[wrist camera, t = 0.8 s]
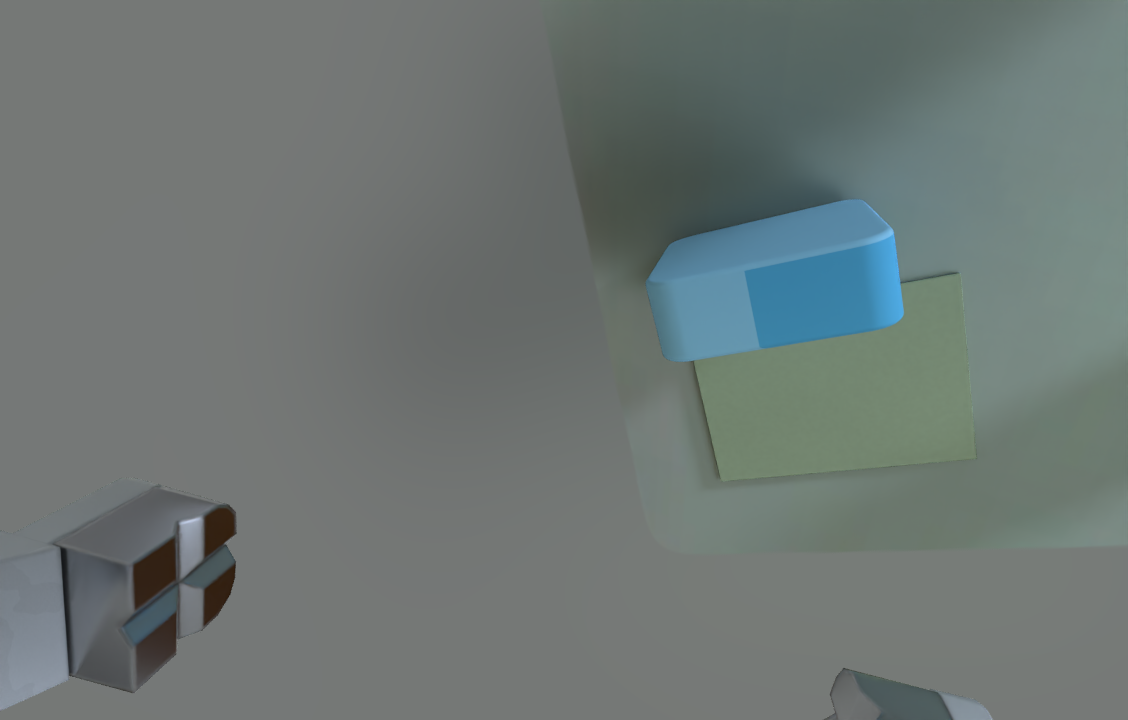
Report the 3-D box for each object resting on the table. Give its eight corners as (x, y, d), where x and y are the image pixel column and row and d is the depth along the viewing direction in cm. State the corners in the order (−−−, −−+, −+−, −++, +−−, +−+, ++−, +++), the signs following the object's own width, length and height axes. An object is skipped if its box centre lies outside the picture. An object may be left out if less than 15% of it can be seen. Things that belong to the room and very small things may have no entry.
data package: (684, 303, 44) (659, 367, 34) (669, 240, 43) (639, 287, 32) (871, 265, 40) (911, 326, 29) (861, 195, 39) (899, 231, 28)
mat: (959, 272, 39) (960, 273, 39) (975, 456, 43) (976, 459, 42) (685, 322, 45) (684, 323, 44) (721, 479, 49) (720, 481, 48)
